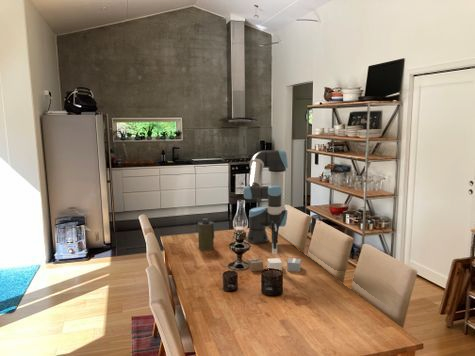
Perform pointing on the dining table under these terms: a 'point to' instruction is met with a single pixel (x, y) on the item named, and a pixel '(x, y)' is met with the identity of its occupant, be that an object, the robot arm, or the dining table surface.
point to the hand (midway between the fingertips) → (274, 253)
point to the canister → (206, 234)
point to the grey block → (294, 264)
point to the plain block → (274, 263)
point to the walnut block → (255, 264)
